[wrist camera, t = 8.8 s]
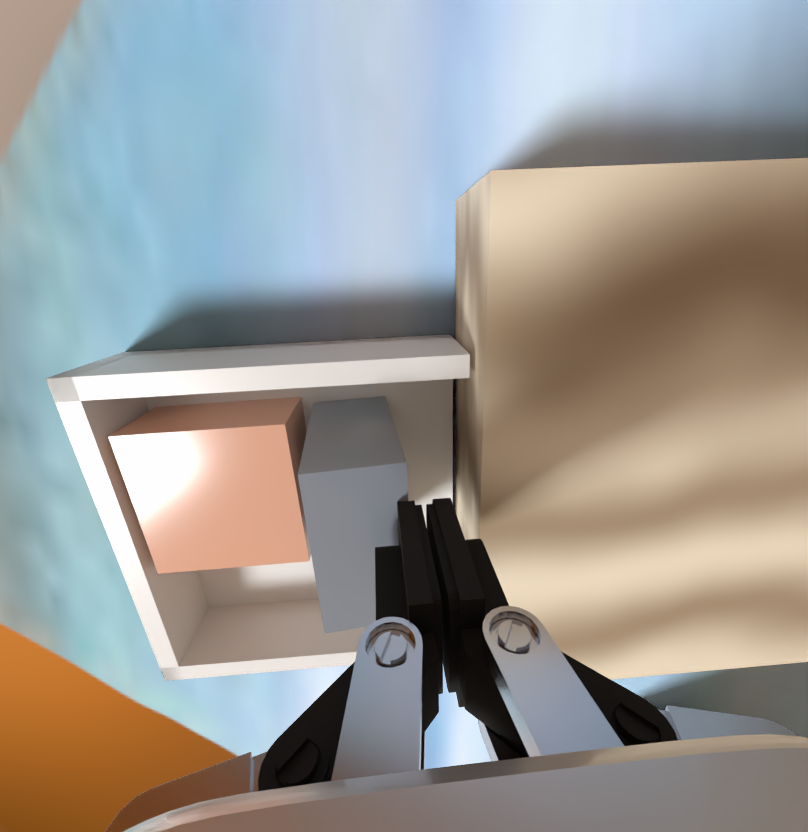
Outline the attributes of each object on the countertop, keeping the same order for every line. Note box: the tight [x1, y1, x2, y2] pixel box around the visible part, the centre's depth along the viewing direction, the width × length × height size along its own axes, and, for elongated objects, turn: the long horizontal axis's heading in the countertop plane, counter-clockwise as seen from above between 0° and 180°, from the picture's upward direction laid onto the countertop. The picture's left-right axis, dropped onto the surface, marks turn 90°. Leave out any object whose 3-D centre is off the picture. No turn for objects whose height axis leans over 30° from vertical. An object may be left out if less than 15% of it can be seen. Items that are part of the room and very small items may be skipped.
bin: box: [46, 334, 470, 681], centre depth 17 cm, size 14×14×4 cm
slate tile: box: [298, 396, 408, 634], centre depth 15 cm, size 6×6×3 cm
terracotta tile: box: [108, 397, 311, 574], centre depth 16 cm, size 6×6×3 cm
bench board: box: [455, 158, 808, 679], centre depth 16 cm, size 20×20×5 cm
